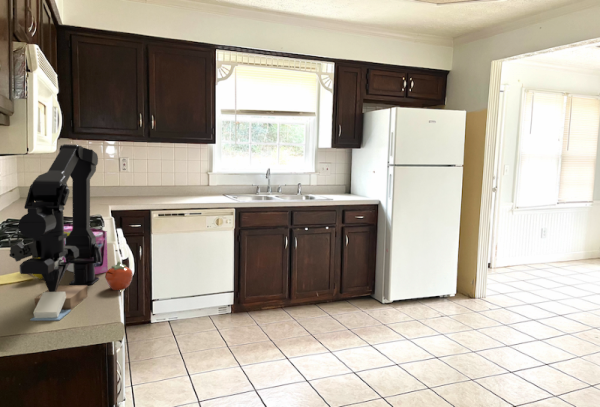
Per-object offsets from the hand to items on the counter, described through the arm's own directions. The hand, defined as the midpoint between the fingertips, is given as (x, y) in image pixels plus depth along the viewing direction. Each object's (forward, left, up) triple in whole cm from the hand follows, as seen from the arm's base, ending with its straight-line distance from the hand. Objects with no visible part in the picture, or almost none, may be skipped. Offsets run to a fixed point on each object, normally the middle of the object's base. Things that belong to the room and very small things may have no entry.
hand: (52, 293), depth 113 cm
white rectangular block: (+3, +1, -3) cm, 4 cm away
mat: (+4, +1, -4) cm, 6 cm away
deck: (-5, 0, -4) cm, 7 cm away
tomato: (-18, +10, -5) cm, 21 cm away
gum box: (-40, -10, -5) cm, 42 cm away
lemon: (-27, -16, -5) cm, 32 cm away
